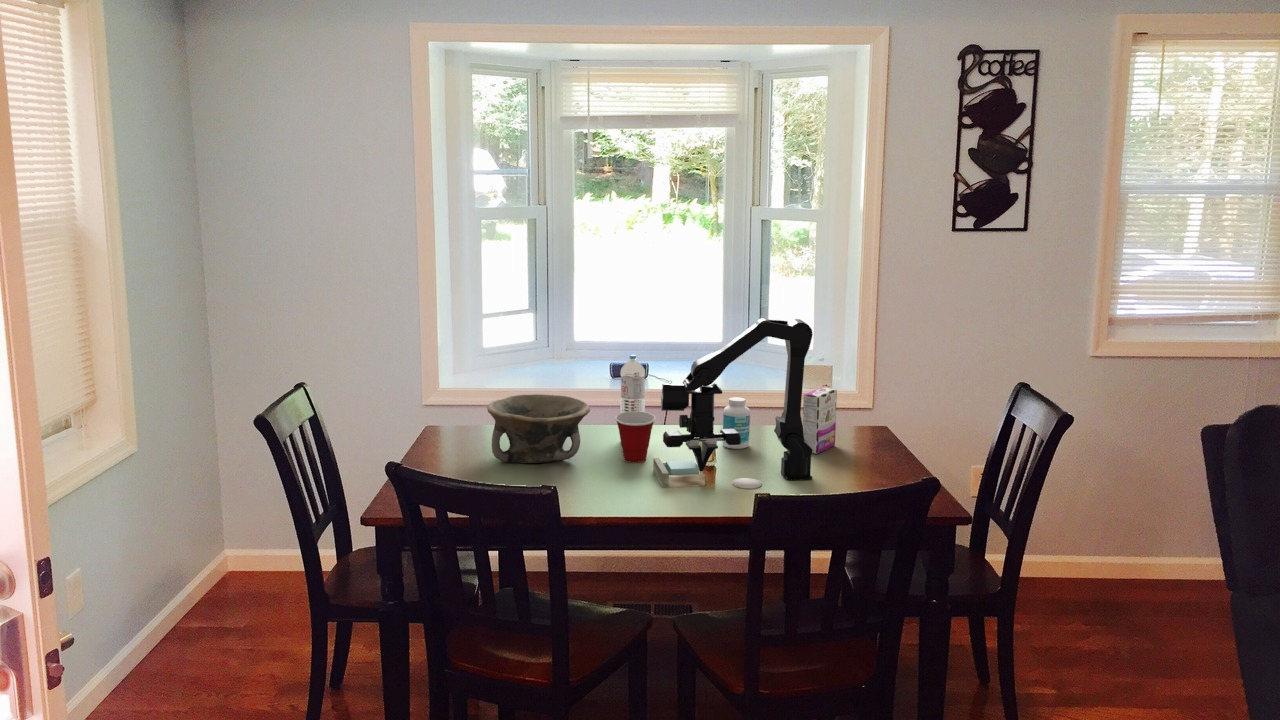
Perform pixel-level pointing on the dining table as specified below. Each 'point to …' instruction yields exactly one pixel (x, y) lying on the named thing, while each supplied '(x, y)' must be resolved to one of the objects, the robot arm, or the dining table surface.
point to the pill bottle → (737, 421)
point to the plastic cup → (635, 434)
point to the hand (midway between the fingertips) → (701, 470)
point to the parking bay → (675, 476)
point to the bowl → (536, 427)
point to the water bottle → (632, 386)
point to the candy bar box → (820, 418)
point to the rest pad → (746, 483)
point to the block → (682, 467)
